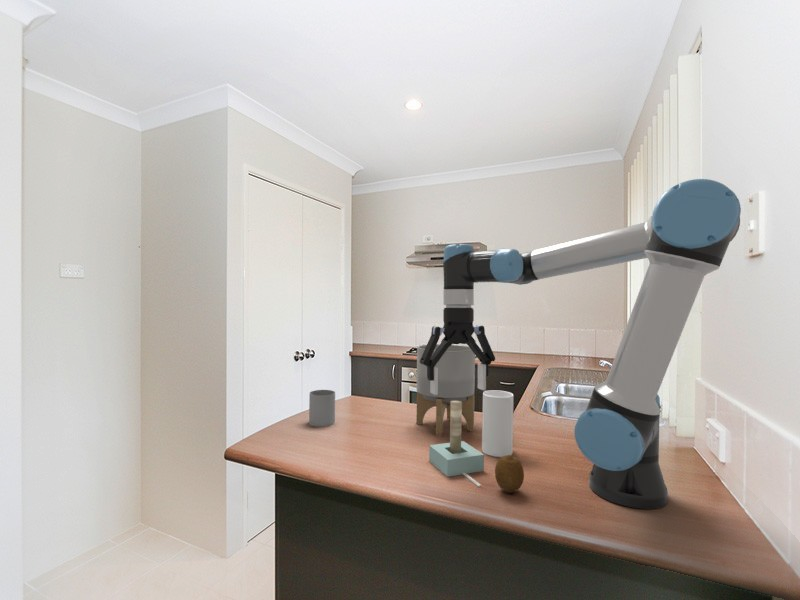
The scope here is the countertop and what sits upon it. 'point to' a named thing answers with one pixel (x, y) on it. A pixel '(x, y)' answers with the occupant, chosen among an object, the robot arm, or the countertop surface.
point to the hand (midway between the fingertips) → (458, 391)
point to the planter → (447, 385)
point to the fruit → (509, 473)
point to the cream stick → (472, 479)
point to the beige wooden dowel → (455, 427)
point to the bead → (456, 459)
